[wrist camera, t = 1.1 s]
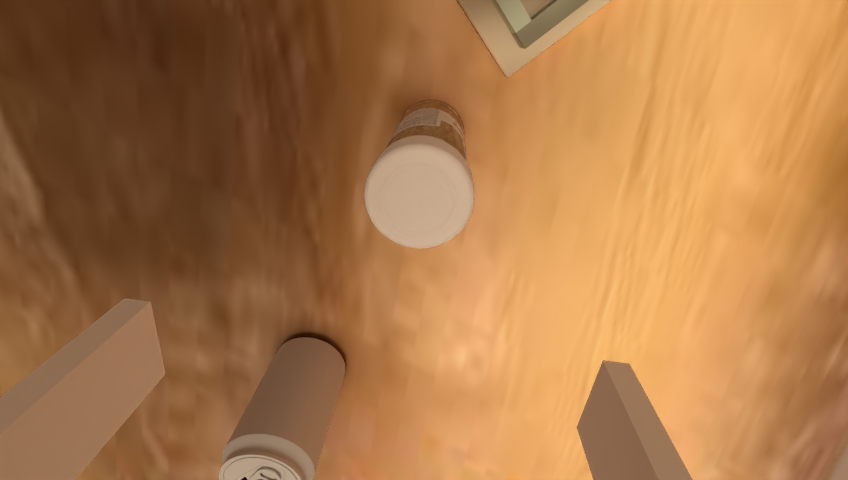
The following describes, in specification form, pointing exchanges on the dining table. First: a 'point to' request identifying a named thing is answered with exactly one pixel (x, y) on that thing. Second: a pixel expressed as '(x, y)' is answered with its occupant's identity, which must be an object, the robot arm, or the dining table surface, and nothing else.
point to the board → (525, 26)
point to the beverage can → (287, 415)
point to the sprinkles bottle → (422, 179)
